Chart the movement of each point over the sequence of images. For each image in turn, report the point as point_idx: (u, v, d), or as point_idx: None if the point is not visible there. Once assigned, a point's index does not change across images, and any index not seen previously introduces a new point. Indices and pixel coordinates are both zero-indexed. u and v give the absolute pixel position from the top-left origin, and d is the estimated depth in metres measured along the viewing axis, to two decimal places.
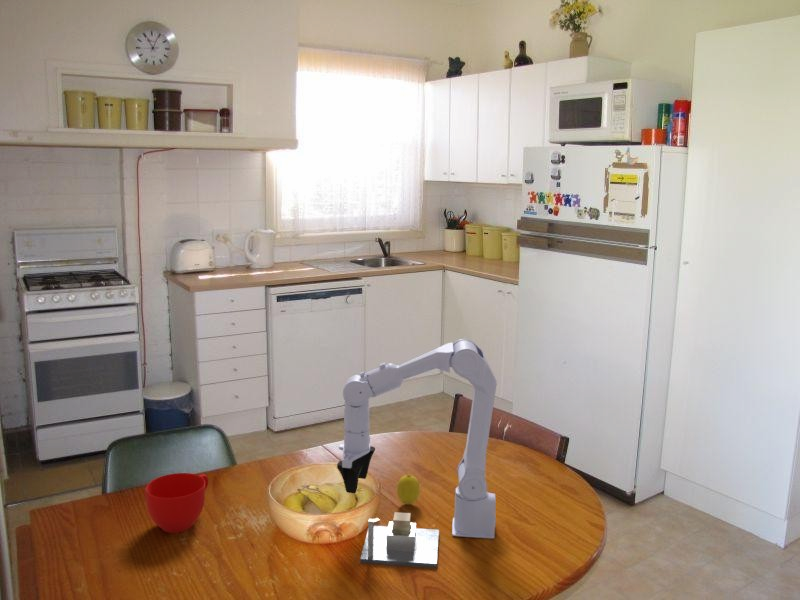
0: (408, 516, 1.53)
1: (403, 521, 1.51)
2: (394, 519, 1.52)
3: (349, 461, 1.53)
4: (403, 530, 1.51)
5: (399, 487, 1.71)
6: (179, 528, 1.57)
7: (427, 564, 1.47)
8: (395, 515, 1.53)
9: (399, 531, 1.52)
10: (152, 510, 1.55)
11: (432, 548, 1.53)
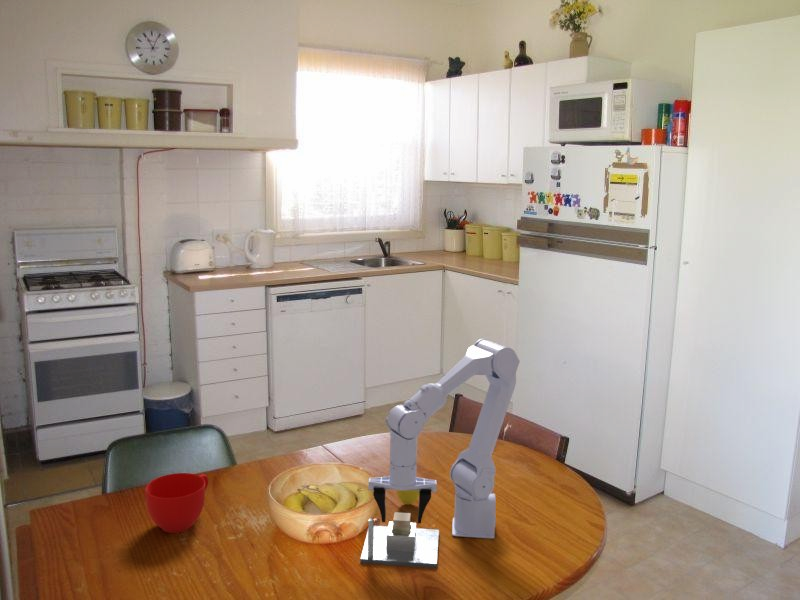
0: (408, 516, 1.53)
1: (403, 521, 1.51)
2: (394, 519, 1.52)
3: None
4: (403, 530, 1.51)
5: None
6: (179, 528, 1.57)
7: (427, 564, 1.47)
8: (395, 515, 1.53)
9: (399, 531, 1.52)
10: (152, 510, 1.55)
11: (432, 548, 1.53)
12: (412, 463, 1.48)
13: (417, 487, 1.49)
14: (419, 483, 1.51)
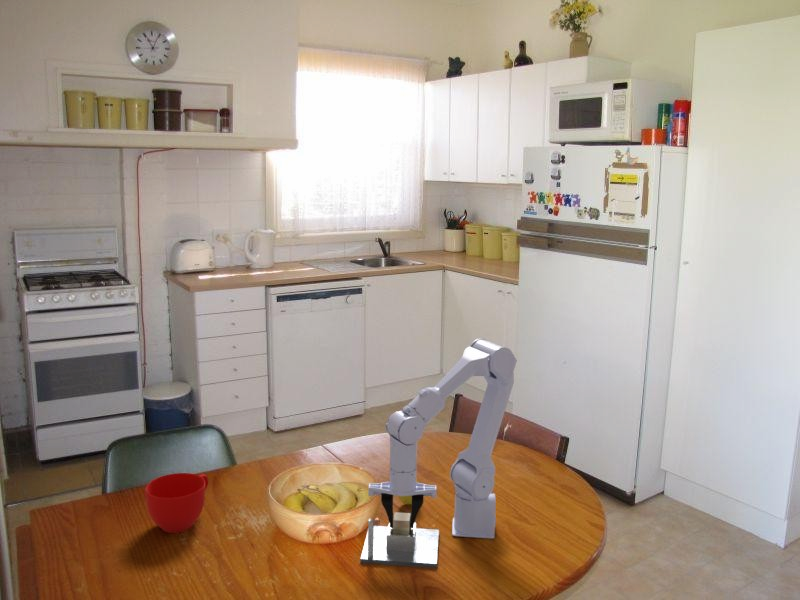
0: (408, 516, 1.53)
1: (403, 521, 1.51)
2: (394, 519, 1.52)
3: None
4: (403, 530, 1.51)
5: None
6: (179, 528, 1.57)
7: (427, 564, 1.47)
8: (395, 515, 1.53)
9: (399, 531, 1.52)
10: (152, 510, 1.55)
11: (432, 548, 1.53)
12: (412, 469, 1.48)
13: (417, 493, 1.49)
14: (419, 489, 1.51)
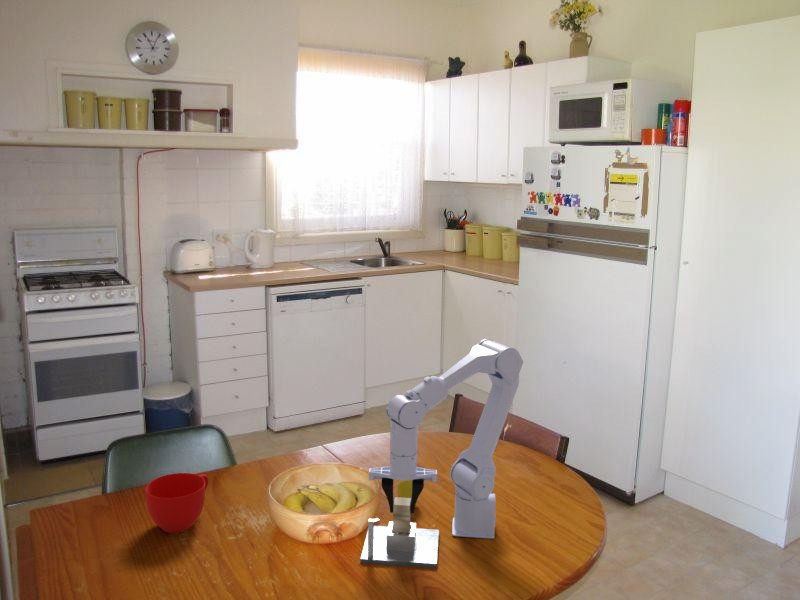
0: (408, 501, 1.52)
1: (404, 506, 1.50)
2: (394, 504, 1.51)
3: None
4: (404, 514, 1.51)
5: (399, 487, 1.71)
6: (179, 528, 1.57)
7: (427, 564, 1.47)
8: (395, 500, 1.53)
9: (399, 516, 1.51)
10: (152, 510, 1.55)
11: (432, 548, 1.53)
12: (412, 453, 1.48)
13: (417, 477, 1.49)
14: (419, 473, 1.51)
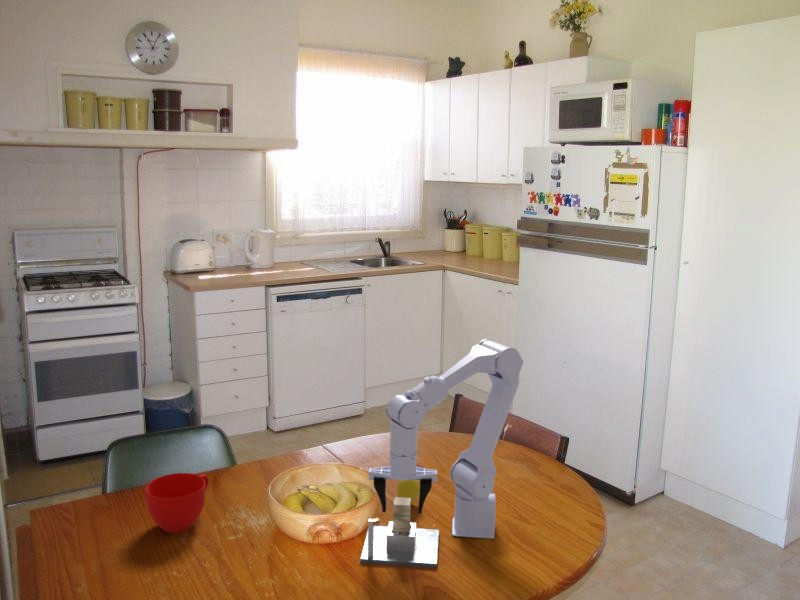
0: (408, 501, 1.52)
1: (404, 506, 1.50)
2: (394, 504, 1.51)
3: None
4: (404, 514, 1.51)
5: (399, 487, 1.71)
6: (179, 528, 1.57)
7: (427, 564, 1.47)
8: (395, 500, 1.53)
9: (399, 516, 1.51)
10: (152, 510, 1.55)
11: (432, 548, 1.53)
12: (412, 453, 1.48)
13: (417, 477, 1.49)
14: (419, 473, 1.50)
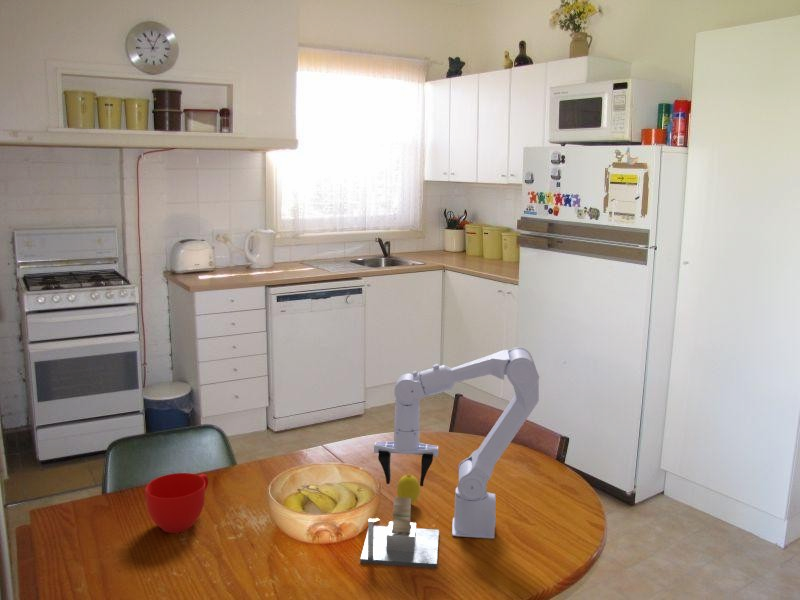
0: (408, 501, 1.52)
1: (404, 506, 1.50)
2: (394, 504, 1.51)
3: (374, 446, 1.60)
4: (404, 514, 1.51)
5: (399, 487, 1.71)
6: (179, 528, 1.57)
7: (427, 564, 1.47)
8: (395, 500, 1.53)
9: (399, 516, 1.51)
10: (152, 510, 1.55)
11: (432, 548, 1.53)
12: (409, 429, 1.57)
13: (419, 451, 1.58)
14: (422, 448, 1.60)
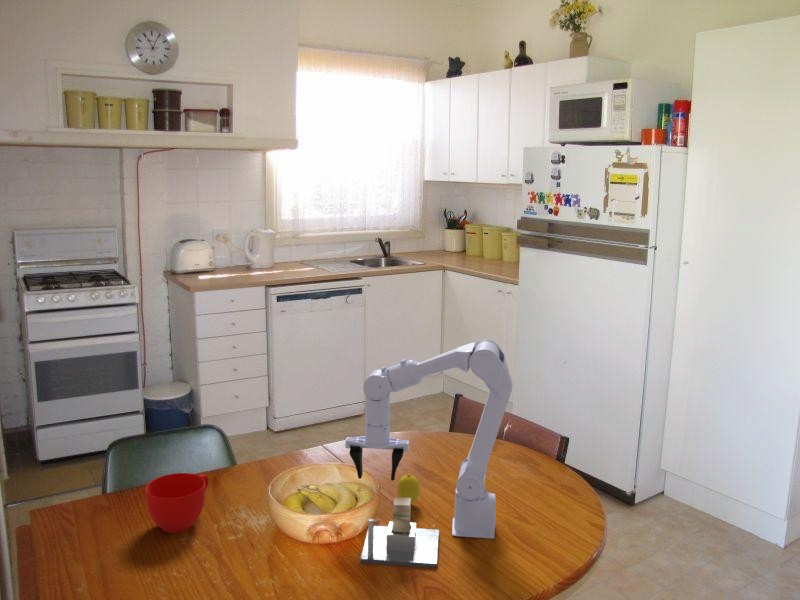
0: (408, 501, 1.52)
1: (404, 506, 1.50)
2: (394, 504, 1.51)
3: None
4: (404, 514, 1.51)
5: (399, 487, 1.71)
6: (179, 528, 1.57)
7: (427, 564, 1.47)
8: (395, 500, 1.53)
9: (399, 516, 1.51)
10: (152, 510, 1.55)
11: (432, 548, 1.53)
12: (378, 424, 1.59)
13: (390, 446, 1.61)
14: (392, 443, 1.62)
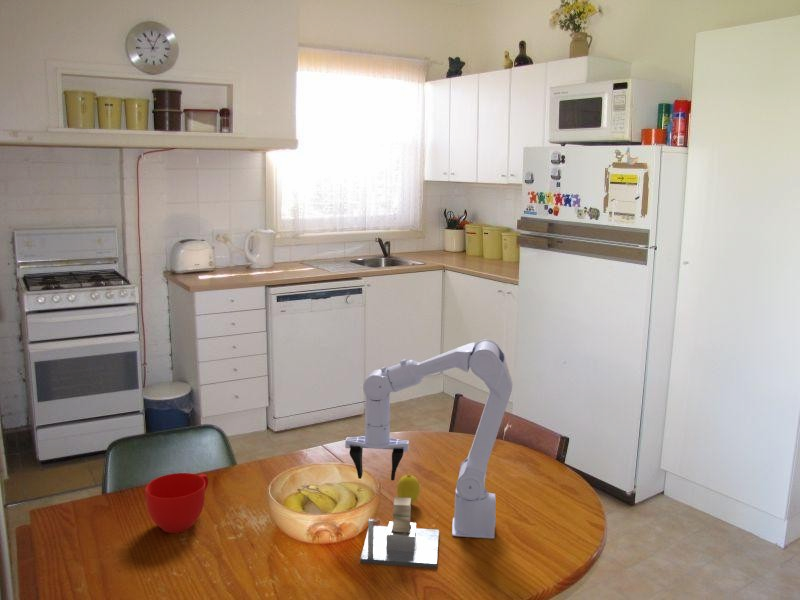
0: (408, 501, 1.52)
1: (404, 506, 1.50)
2: (394, 504, 1.51)
3: None
4: (404, 514, 1.51)
5: (399, 487, 1.71)
6: (179, 528, 1.57)
7: (427, 564, 1.47)
8: (395, 500, 1.53)
9: (399, 516, 1.51)
10: (152, 510, 1.55)
11: (432, 548, 1.53)
12: (378, 424, 1.59)
13: (390, 446, 1.61)
14: (392, 443, 1.62)
